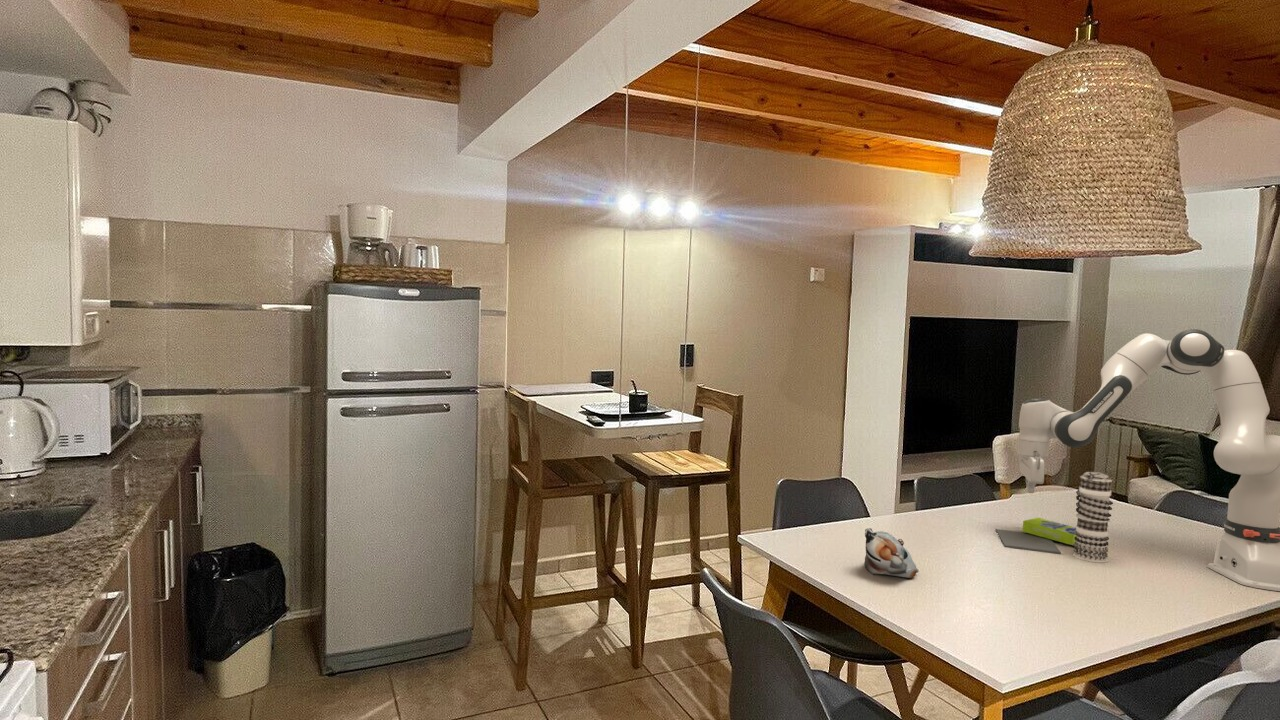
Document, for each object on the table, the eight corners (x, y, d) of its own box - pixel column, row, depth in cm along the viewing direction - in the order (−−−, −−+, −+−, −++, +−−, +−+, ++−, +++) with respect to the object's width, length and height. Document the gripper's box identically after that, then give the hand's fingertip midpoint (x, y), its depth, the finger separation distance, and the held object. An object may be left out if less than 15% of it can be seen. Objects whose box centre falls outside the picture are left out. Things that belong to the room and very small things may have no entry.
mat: (1060, 554, 212) (1061, 552, 212) (1004, 547, 217) (1004, 545, 217) (1047, 536, 230) (1047, 535, 230) (995, 530, 235) (995, 529, 235)
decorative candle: (1081, 551, 216) (1087, 469, 215) (1114, 560, 208) (1121, 475, 207) (1065, 555, 211) (1071, 471, 210) (1099, 564, 204) (1105, 477, 202)
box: (1037, 516, 238) (1095, 531, 224) (1035, 528, 238) (1093, 544, 224) (1022, 520, 231) (1081, 535, 218) (1021, 532, 231) (1079, 549, 218)
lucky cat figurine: (928, 578, 186) (924, 538, 180) (889, 599, 184) (883, 558, 177) (891, 545, 199) (886, 506, 193) (854, 564, 197) (848, 525, 191)
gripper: (1051, 455, 216) (1048, 500, 217) (1037, 445, 236) (1034, 487, 236) (1028, 453, 218) (1025, 498, 219) (1016, 443, 238) (1013, 484, 238)
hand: (1030, 492), depth 228 cm, fingers closed
